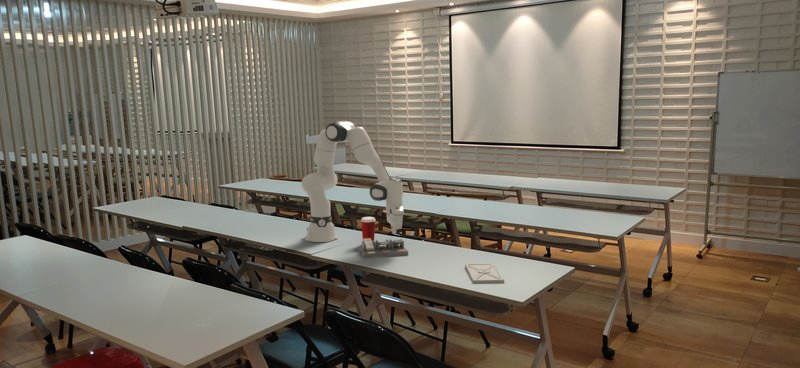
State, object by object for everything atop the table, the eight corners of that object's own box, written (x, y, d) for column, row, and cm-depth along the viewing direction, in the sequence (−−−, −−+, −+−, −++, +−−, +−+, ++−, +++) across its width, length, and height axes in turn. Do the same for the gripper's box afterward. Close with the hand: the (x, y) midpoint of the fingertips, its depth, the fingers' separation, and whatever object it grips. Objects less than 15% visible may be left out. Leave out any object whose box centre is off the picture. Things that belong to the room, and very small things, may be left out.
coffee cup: (376, 243, 326) (376, 216, 324) (374, 246, 318) (374, 219, 316) (362, 242, 327) (361, 216, 325) (359, 246, 319) (359, 219, 317)
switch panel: (359, 251, 310) (359, 240, 309) (401, 248, 315) (401, 237, 314) (364, 257, 296) (364, 246, 295) (408, 254, 302) (408, 244, 301)
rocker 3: (391, 245, 313) (390, 242, 313) (398, 244, 314) (398, 242, 314) (395, 242, 303) (394, 239, 304) (402, 241, 304) (402, 239, 305)
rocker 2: (377, 245, 311) (377, 242, 311) (384, 244, 312) (384, 242, 312) (380, 244, 302) (380, 241, 302) (388, 243, 302) (388, 241, 303)
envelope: (473, 284, 256) (504, 284, 256) (473, 279, 256) (504, 279, 256) (465, 267, 280) (493, 267, 280) (465, 263, 279) (493, 262, 280)
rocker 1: (363, 240, 309) (363, 238, 309) (370, 240, 310) (370, 238, 310) (366, 250, 301) (366, 248, 300) (374, 250, 301) (374, 247, 301)
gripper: (384, 204, 319) (383, 229, 321) (392, 212, 300) (392, 238, 302) (395, 204, 321) (395, 228, 323) (404, 211, 301) (404, 237, 303)
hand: (393, 233), depth 312 cm, fingers closed
